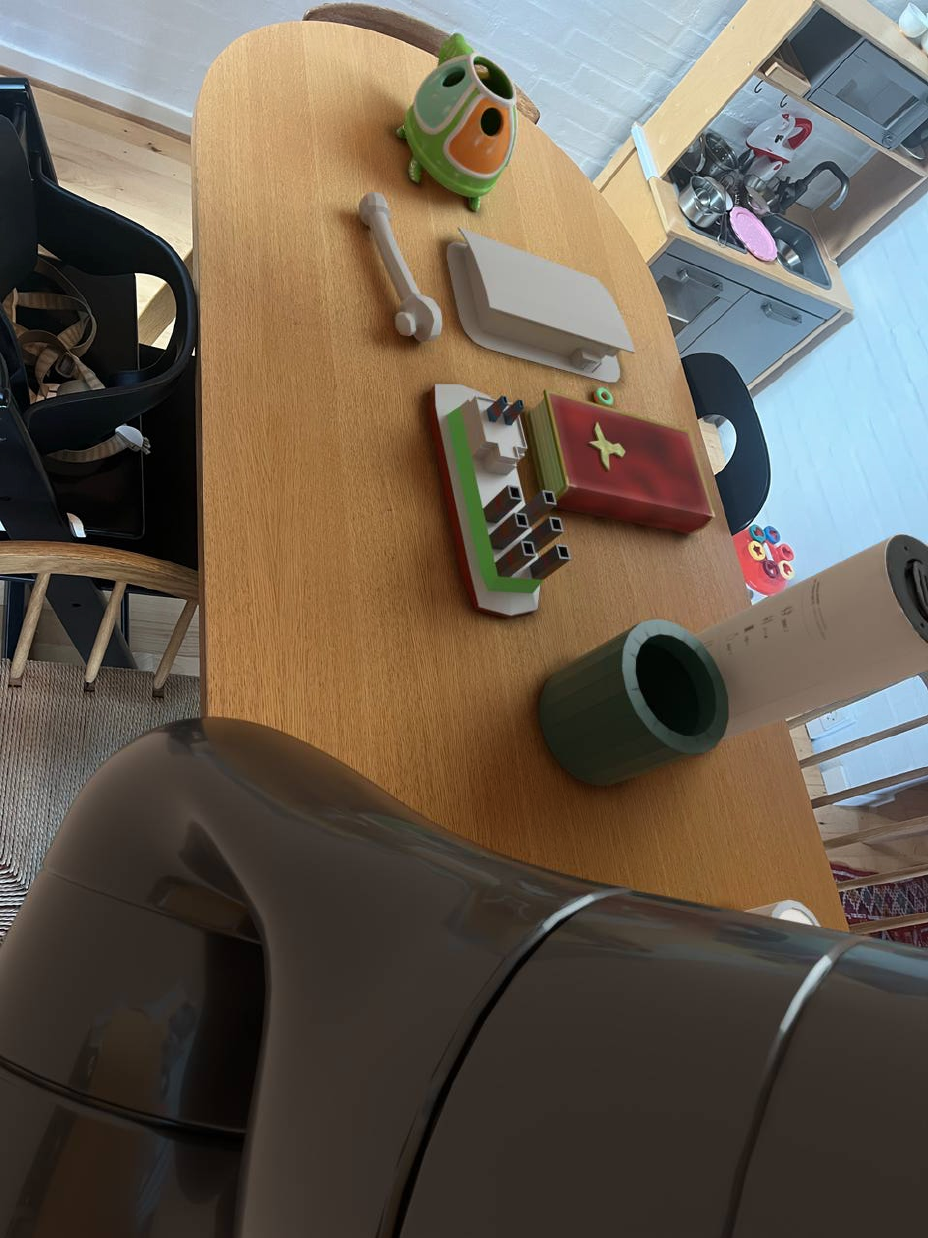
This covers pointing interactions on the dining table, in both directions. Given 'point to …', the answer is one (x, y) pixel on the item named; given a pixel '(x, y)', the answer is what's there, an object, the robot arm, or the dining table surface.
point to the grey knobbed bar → (400, 274)
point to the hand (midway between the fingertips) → (522, 1022)
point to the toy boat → (492, 501)
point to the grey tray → (536, 308)
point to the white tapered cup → (787, 912)
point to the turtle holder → (462, 122)
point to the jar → (635, 705)
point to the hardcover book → (617, 464)
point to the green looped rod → (605, 394)
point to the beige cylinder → (826, 636)
